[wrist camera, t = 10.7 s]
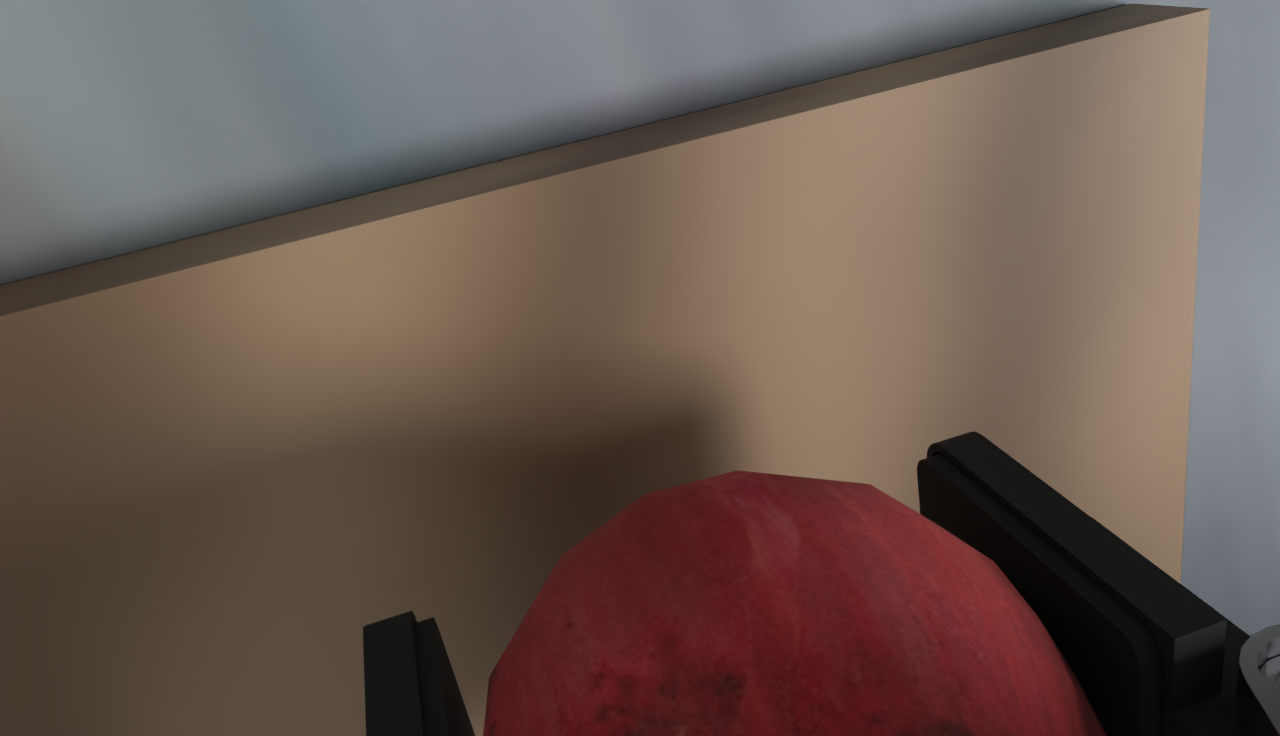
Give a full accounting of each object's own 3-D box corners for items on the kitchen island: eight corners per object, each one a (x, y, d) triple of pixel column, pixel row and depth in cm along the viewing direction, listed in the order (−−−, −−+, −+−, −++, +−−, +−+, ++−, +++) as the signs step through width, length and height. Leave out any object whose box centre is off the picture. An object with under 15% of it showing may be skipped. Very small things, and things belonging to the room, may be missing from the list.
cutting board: (1131, 3, 15) (1210, 8, 13) (1119, 558, 19) (1179, 604, 18) (-215, 338, 12) (-287, 388, 10) (129, 911, 16) (109, 999, 15)
